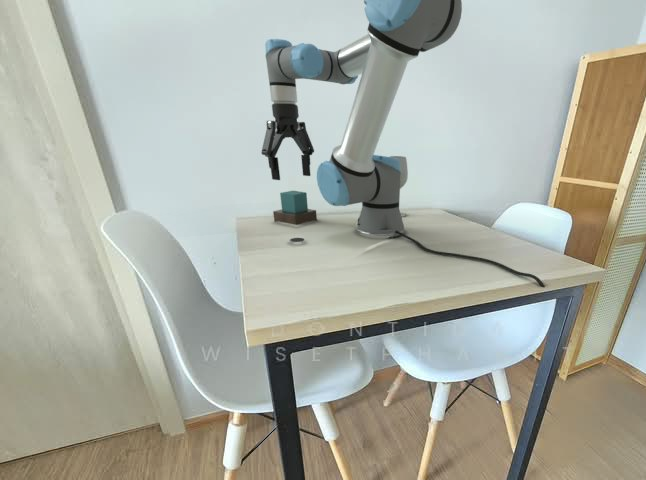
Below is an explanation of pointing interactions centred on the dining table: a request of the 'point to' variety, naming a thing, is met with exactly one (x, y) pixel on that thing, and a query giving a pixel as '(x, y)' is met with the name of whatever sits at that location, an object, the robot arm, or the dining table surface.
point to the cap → (297, 239)
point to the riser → (295, 216)
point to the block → (294, 201)
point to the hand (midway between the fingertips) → (292, 177)
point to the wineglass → (402, 172)
